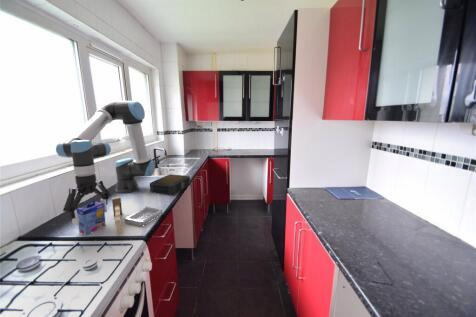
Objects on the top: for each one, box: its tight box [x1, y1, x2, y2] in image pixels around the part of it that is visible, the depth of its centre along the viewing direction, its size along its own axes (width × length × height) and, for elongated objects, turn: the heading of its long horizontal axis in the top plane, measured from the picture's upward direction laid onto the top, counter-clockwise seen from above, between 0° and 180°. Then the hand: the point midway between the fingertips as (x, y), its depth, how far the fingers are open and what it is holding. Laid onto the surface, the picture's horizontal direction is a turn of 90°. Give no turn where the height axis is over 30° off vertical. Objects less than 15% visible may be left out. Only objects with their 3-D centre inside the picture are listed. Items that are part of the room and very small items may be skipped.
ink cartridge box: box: [75, 199, 107, 236], centre depth 96 cm, size 10×6×14 cm, turn 161°
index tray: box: [124, 206, 163, 227], centre depth 108 cm, size 15×11×2 cm
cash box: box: [149, 174, 191, 196], centre depth 154 cm, size 25×20×8 cm
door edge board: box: [111, 196, 123, 235], centre depth 102 cm, size 24×4×10 cm, turn 31°
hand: (91, 217), depth 96 cm, fingers open, 13 cm apart
